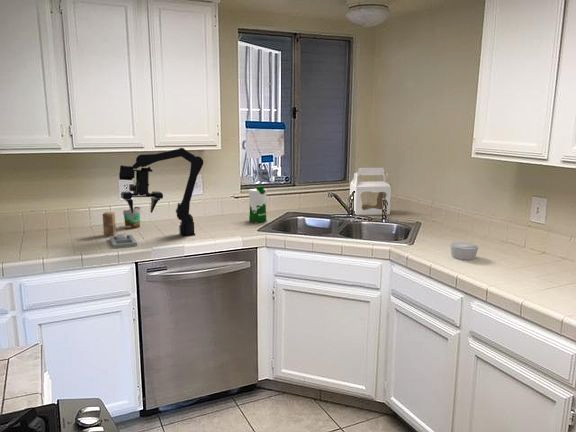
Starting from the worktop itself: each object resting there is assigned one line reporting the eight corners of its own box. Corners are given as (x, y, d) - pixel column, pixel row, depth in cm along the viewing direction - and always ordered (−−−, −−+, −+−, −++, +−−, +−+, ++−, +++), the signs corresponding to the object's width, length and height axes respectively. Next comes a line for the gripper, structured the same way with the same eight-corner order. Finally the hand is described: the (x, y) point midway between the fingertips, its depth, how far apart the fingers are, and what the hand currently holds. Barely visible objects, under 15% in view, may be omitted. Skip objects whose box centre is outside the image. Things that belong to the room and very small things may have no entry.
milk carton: (256, 223, 269) (256, 187, 265) (246, 220, 275) (246, 185, 272) (268, 221, 275) (268, 186, 271) (258, 218, 281) (258, 184, 277)
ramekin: (471, 262, 197) (472, 250, 196) (444, 257, 205) (445, 245, 204) (481, 257, 206) (482, 245, 205) (455, 252, 213) (456, 240, 212)
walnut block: (115, 234, 241) (114, 212, 239) (113, 236, 237) (112, 214, 234) (106, 234, 241) (105, 212, 238) (104, 236, 236) (102, 214, 234)
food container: (135, 230, 250) (134, 210, 248) (124, 229, 251) (122, 210, 250) (146, 225, 262) (145, 206, 260) (136, 224, 263) (135, 206, 261)
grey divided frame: (131, 237, 234) (131, 231, 234) (137, 246, 219) (136, 239, 218) (109, 239, 230) (109, 233, 230) (113, 248, 215) (113, 241, 214)
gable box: (382, 210, 311) (384, 166, 306) (390, 214, 298) (392, 168, 293) (348, 211, 307) (350, 166, 302) (355, 215, 295) (356, 168, 289)
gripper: (156, 178, 243) (156, 209, 246) (118, 178, 234) (117, 210, 236) (163, 181, 234) (162, 213, 237) (123, 181, 224) (123, 214, 227)
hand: (141, 213), depth 235 cm, fingers open, 9 cm apart
